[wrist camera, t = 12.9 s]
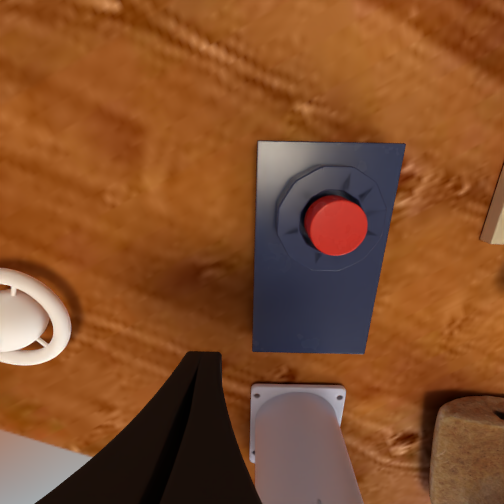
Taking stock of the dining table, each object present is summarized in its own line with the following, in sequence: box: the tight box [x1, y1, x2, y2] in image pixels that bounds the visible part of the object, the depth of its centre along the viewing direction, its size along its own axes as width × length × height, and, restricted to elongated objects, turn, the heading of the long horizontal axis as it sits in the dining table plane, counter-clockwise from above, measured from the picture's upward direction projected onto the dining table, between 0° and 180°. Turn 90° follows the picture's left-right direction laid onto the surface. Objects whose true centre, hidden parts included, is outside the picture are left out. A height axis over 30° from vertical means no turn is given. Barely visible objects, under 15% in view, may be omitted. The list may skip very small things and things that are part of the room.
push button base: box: [252, 140, 406, 354], centre depth 17 cm, size 14×8×4 cm, turn 179°
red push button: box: [304, 195, 368, 256], centre depth 14 cm, size 3×3×2 cm
